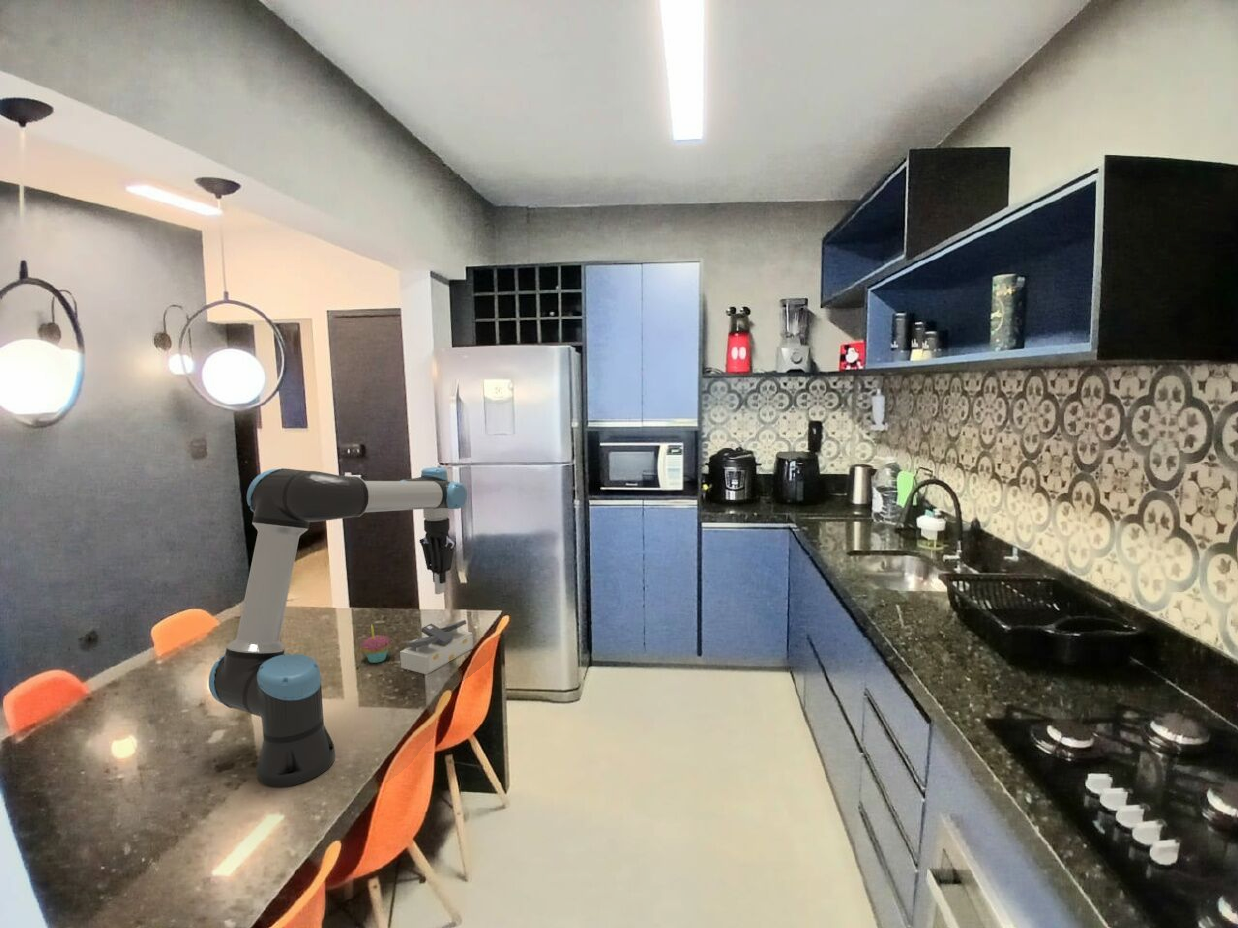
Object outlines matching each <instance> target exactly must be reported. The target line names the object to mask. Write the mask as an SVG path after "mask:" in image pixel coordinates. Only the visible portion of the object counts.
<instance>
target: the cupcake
mask: <svg viewBox="0 0 1238 928" xmlns="http://www.w3.org/2000/svg"><path fill="white" fill-rule="evenodd" d="M370 625H371V626H370V629H371V630H370V631H371V636H370V637H367V638H366V639H365V640H363V641H362V643H361V645H360V646H361V651H362V653H363V654H365V656H366V657H367V660H368V662H369V663H373V664H374V663H375V664H376V663H381V662H383V661H385V660H386V658H387V654H388V651H389V649H390V648H391V647H392V642H391V639H390V638H389V637H388V636H385V635H381V634H375V630H374V625H373V624H372V623H370Z"/></svg>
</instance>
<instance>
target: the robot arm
mask: <svg viewBox="0 0 1238 928" xmlns="http://www.w3.org/2000/svg"><path fill="white" fill-rule="evenodd" d="M467 499H468V489H467V488H466V486H465V484H463V483H461V482H459V481H458V482H457V481H449V480H448V473H447V469H446V468H444V467H441V466H440V467H439V466H437V467H436V466H434V467H433V466H431V467H425V468H423V469H421V474H420V477H419V476H418V477H415V478H409V479H401V480H364V479H362V478H361V477H359V476H347V475H341V474H333V473H328V472H323V471H316V470H302V469H294V468H293V469H292V468H275V469H274V468H271V469H267V470H266V471H263V472H261V473H260V474H258V475H257V476H256V477H255V478H254V479H253V480H252V481H251V482H250V484H249V487H248V489H247V492H246V502H247V505H248V507H249V509H250V511H251V512H252V513H253V517H252V521H251V522H252V523H251V524H252V525H253V526H254V528H255V530H257V536H256V541H255V545H254V550H253V555H252V558H251V559H252V561H251V565H250V568H249V569H250V570H249V576H248V578H247V579H248V580H247V585H246V590H245V594H244V598H243V604H242V608H241V615H240V619H239V623H238V630H237V633H236V638H235V639H234V640H232V641H231V642H229V643H228V644H227V645H226V649H225V652H224V654H223V655H221V656H220V657H219V660H217V661H216V662H215V663H214V664H213V666H212V667H211V669H210V671H209V672H210V673H209V675H208V689H209V692H210V694H211V696H212V697H213V698H214V699H215V701H217V702H218V703H220V704H223V706H225V707H227V708H228V709H229V708H230V709H232V710H239V711H241V712H245V713H247V714H251V715H254V716H257V717H260V719H261V727H262V736H263V741H262V744H261V749H260V751H259V756H258V757H259V758H258V760H257V763H256V777H257V780H258V782H260V784H262V785H265V786H266V787H267V786H268V787H273V788H283V787H291V786H296V785H299V784H302V783H305V782H308V781H310V780H312V779H314V778H316V777H318V776H320V775H322V774H323V773H324V772H326V771H328V769H329V768H330V767H331V766H332V765H333V764H334V762H335V760H336V749H335V748H336V747H335V744H334V741H333V740H332V738H331V736H330V733H329V732H328V730H327V728H326V726H325V721H324V706H323V693H322V692H323V691H322V676H321V672H320V671H321V670H320V667H319V664H318V661H316V660H315V659H314V658H313V657H311V656H309V655H306V654H301V653H294V654H291V653H286V654H285V651H286V647H285V645H284V644H283V643H282V642H281V640H280V638H281V633H282V628H283V623H284V617H285V612H286V607H287V602H288V596H289V593H290V592H289V591H290V586H291V581H292V576H293V570H294V566H295V561H296V555H297V551H298V545H299V539H300V537H301V535H303V534H304V533H305V532H307V531H308V530H309V526H310V523H315V522H325V521H326V522H327V521H331V520H332V521H333V520H334V521H335V520H340V519H350V518H358V517H361V516H362V515H364V513H376V512H393V511H394V512H395V511H411V510H423V511H422V515H423V518H424V520H423V531H424V532H425V535H424V537H423V538H420V539H419V543H420V545H421V547H422V551H423V552H422V553H423V556H424V560H425V565H426V569H427V570H428V571H431V573H432V581H433V583H434V594H435V595H441V594H443V593H445V592H446V589H445V587H446V584H445V583H446V581H447V580H446V576H447V575H446V573H447V572H450V571H451V570H452V563H453V558H454V557H453V556H454V550H455V547H456V545H457V542H456V541H453V540H452V539H450V538H451V537H450V535H449V530H450V528H451V527H450V518H449V516H450V513H449V512H450V510H459V509H461V508H463V507H464V506H465V505H466V502H467Z"/></svg>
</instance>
